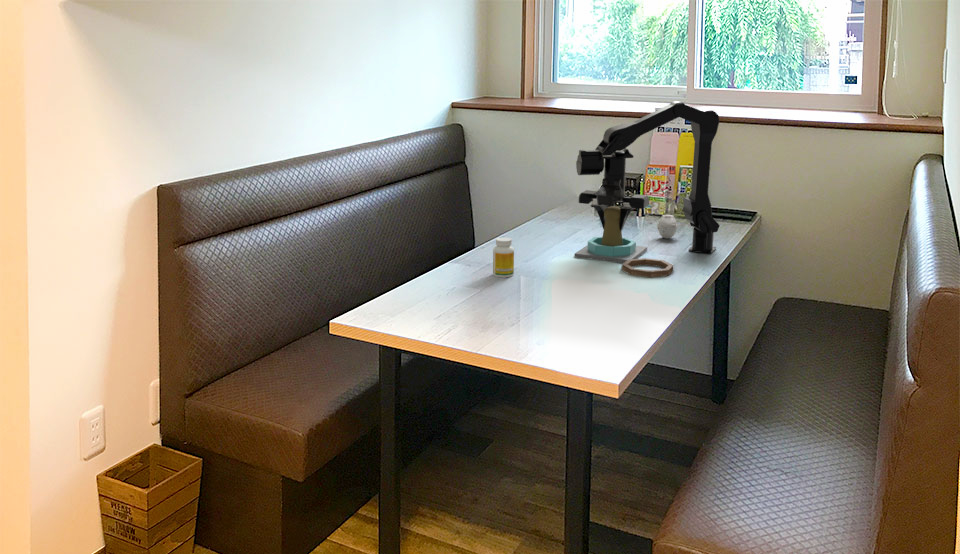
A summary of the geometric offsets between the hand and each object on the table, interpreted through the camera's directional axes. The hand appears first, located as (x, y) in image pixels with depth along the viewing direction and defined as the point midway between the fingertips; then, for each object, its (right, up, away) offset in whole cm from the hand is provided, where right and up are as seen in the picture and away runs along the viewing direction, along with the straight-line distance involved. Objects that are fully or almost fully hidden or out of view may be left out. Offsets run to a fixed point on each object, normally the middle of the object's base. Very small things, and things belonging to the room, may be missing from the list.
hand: (612, 229), depth 251 cm
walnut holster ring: (+7, -11, -14) cm, 20 cm away
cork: (0, -5, +1) cm, 5 cm away
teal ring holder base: (0, -7, +2) cm, 7 cm away
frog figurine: (+19, -2, +20) cm, 27 cm away
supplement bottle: (-31, -13, -19) cm, 38 cm away
